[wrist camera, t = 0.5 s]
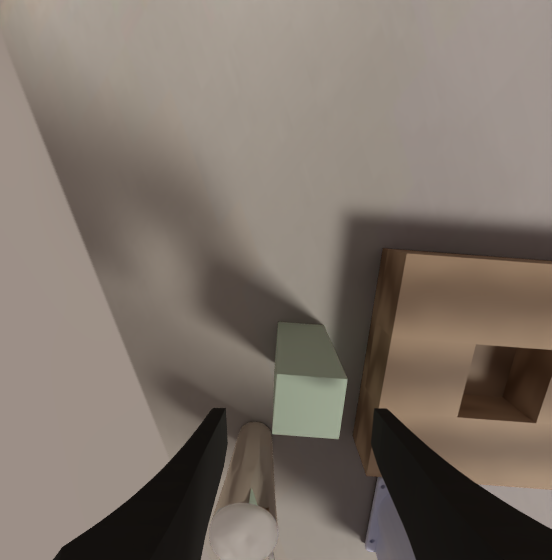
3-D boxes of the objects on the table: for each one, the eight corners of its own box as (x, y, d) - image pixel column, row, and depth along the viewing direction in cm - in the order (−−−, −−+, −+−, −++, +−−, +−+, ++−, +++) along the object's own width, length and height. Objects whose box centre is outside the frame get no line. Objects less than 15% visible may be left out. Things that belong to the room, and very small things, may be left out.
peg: (319, 366, 23) (338, 439, 15) (274, 363, 23) (271, 433, 15) (323, 325, 22) (347, 379, 14) (278, 321, 22) (276, 373, 14)
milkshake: (265, 467, 25) (256, 618, 16) (222, 437, 25) (184, 576, 15) (294, 437, 25) (304, 577, 15) (251, 406, 24) (231, 530, 14)
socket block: (539, 449, 24) (588, 492, 21) (352, 436, 24) (366, 475, 21) (603, 264, 21) (679, 273, 17) (382, 248, 21) (406, 253, 17)
